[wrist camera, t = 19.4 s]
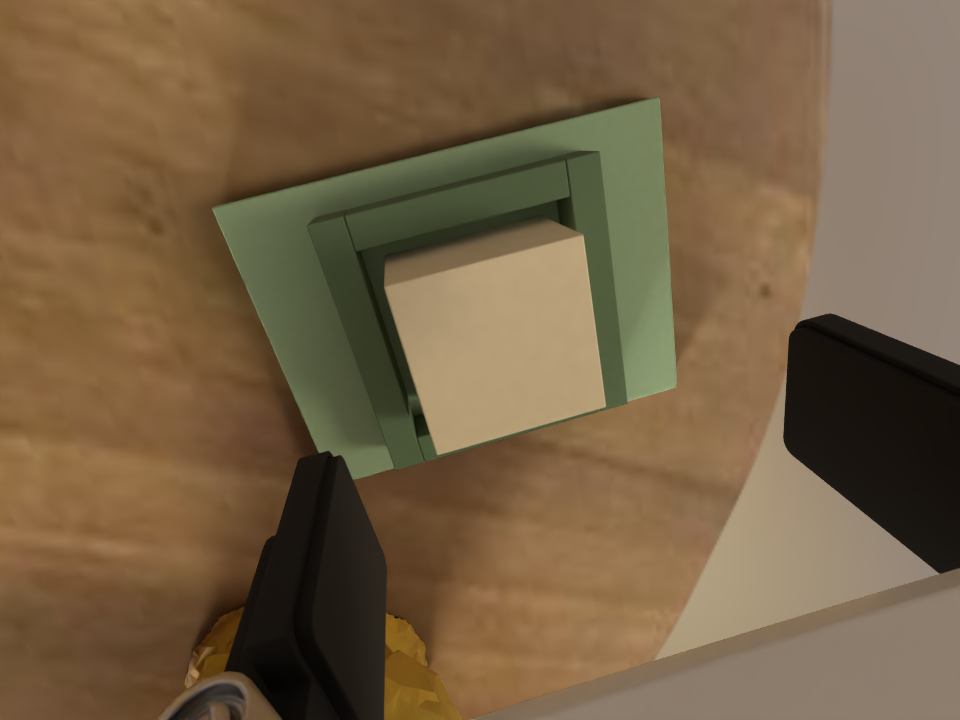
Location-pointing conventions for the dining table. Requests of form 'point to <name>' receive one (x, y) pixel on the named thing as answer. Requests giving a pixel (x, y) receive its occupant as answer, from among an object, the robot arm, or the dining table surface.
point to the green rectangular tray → (440, 216)
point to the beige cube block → (497, 330)
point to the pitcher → (408, 682)
